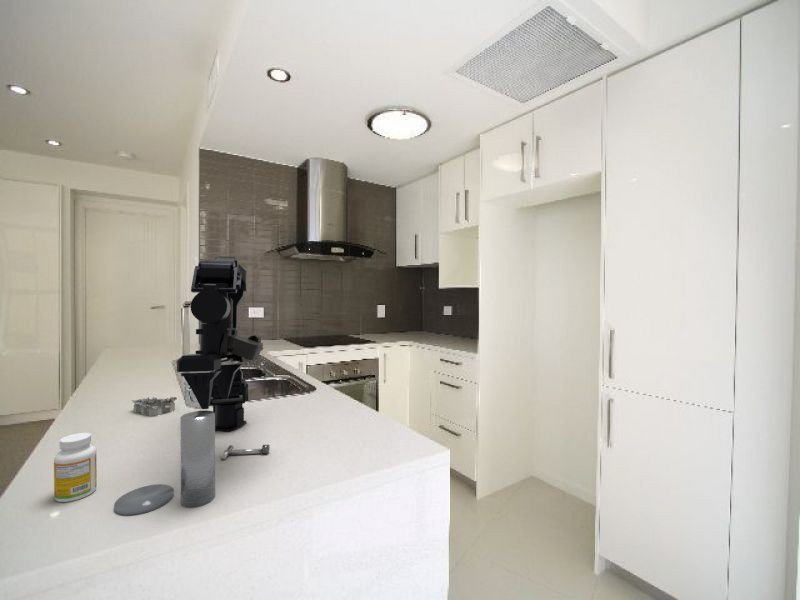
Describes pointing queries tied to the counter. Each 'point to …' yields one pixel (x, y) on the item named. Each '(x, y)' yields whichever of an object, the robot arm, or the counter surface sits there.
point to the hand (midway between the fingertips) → (215, 403)
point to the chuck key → (245, 451)
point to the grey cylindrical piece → (197, 458)
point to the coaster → (143, 499)
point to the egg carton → (154, 406)
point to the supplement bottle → (75, 468)
